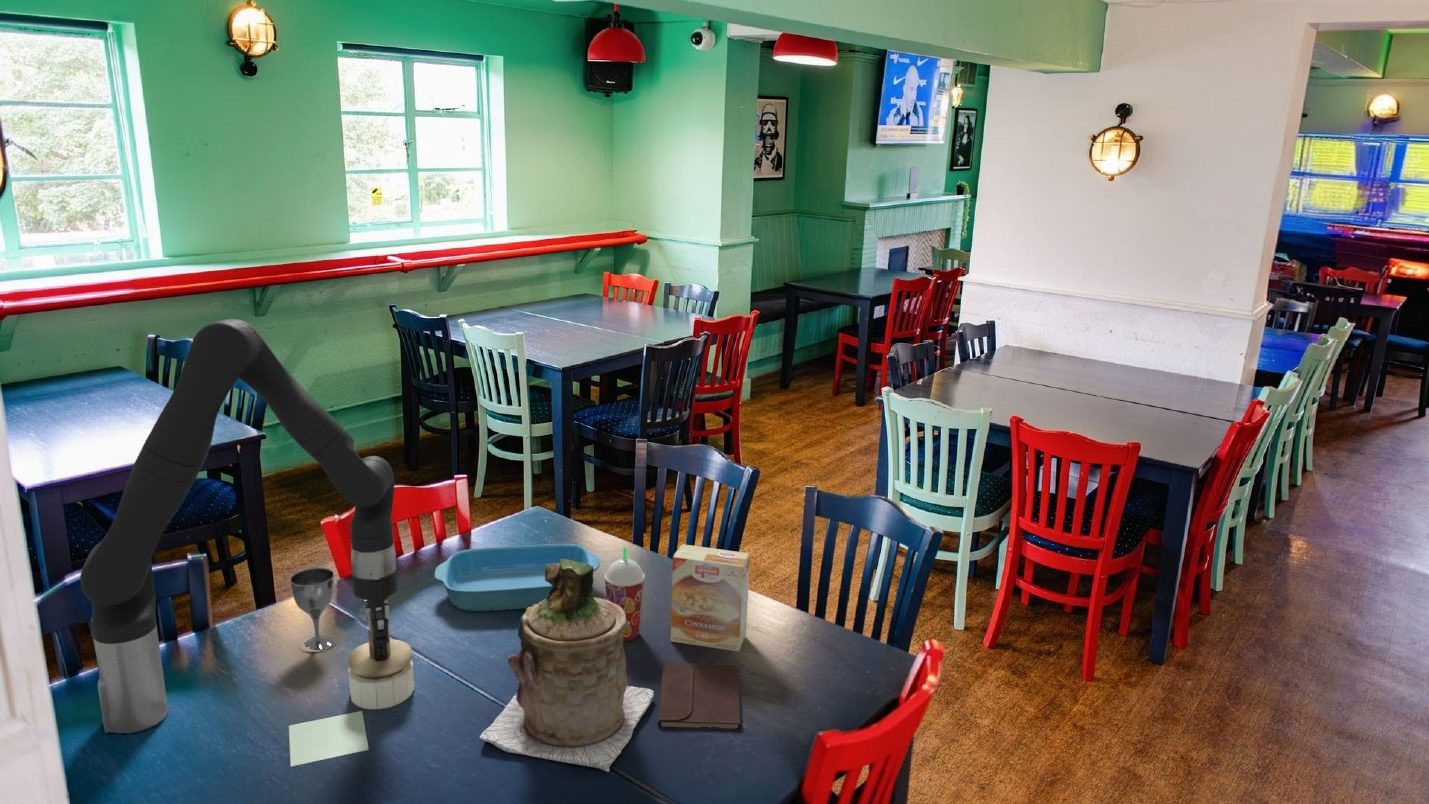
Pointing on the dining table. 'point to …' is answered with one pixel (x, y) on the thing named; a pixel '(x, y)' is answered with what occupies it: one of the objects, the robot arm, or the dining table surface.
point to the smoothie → (626, 592)
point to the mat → (327, 738)
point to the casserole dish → (505, 575)
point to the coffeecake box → (709, 597)
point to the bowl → (382, 688)
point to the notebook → (699, 695)
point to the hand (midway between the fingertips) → (379, 653)
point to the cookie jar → (570, 677)
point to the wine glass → (314, 600)
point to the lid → (366, 665)
